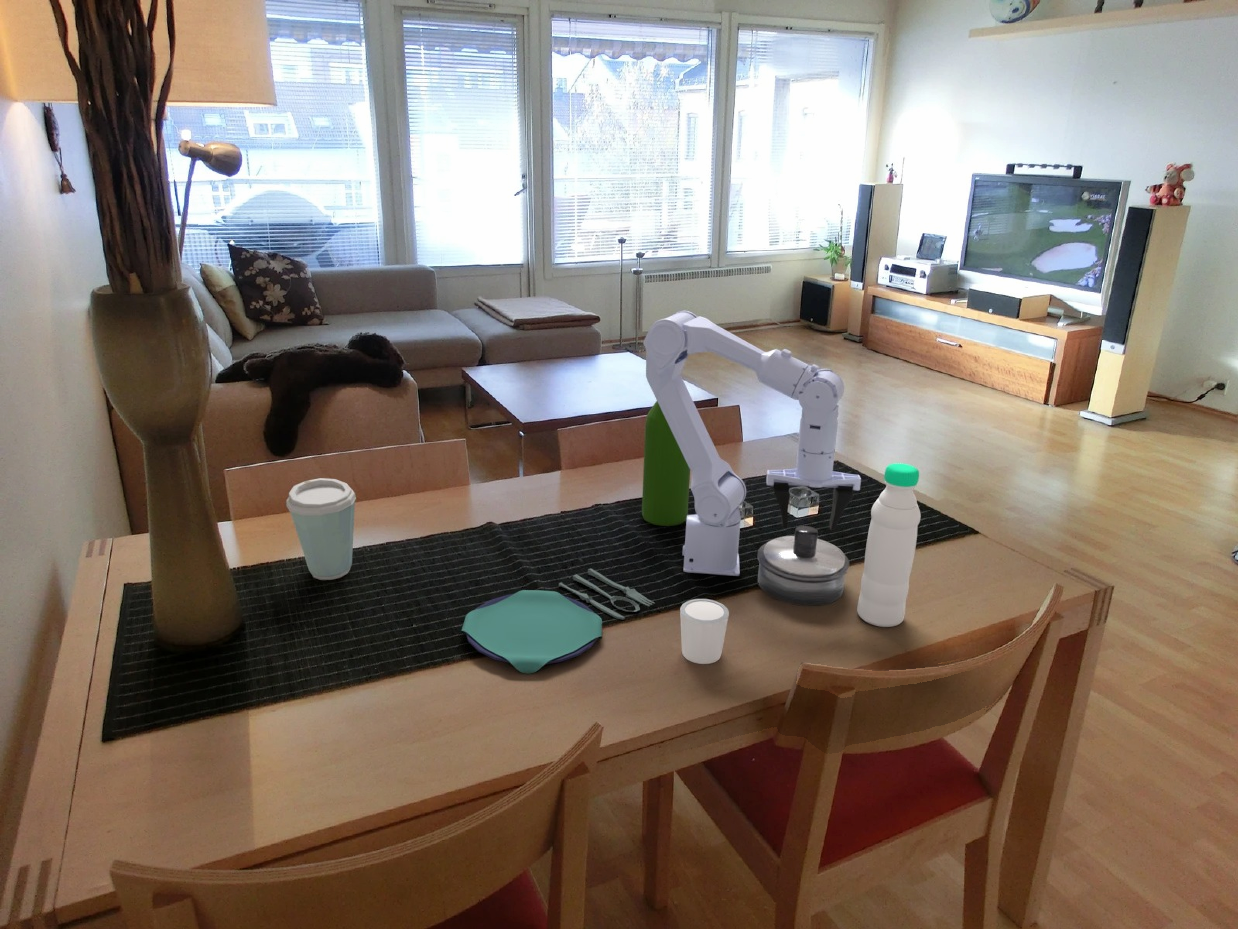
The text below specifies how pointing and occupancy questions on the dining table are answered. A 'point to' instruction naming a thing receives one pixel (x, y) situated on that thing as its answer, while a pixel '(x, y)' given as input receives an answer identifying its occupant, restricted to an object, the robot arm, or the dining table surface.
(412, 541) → the dining table surface
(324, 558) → the disposable coffee cup
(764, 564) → the cooking pot
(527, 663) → the cutlery set
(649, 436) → the wine bottle
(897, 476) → the water bottle
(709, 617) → the white cup
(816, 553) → the steel lid
